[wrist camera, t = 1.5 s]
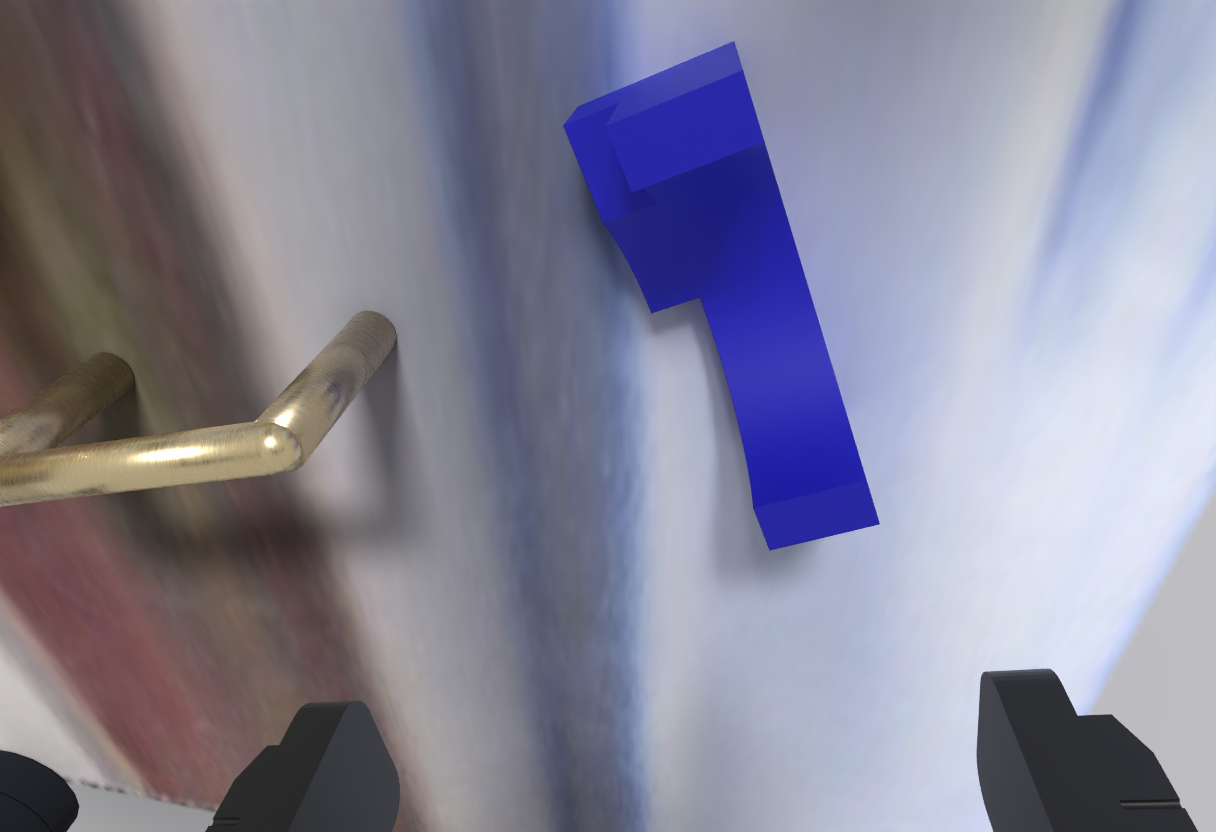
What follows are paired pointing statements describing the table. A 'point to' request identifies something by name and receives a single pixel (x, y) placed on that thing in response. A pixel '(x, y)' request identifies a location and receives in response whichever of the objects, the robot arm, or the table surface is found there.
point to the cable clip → (729, 278)
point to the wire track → (275, 443)
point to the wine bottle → (33, 797)
